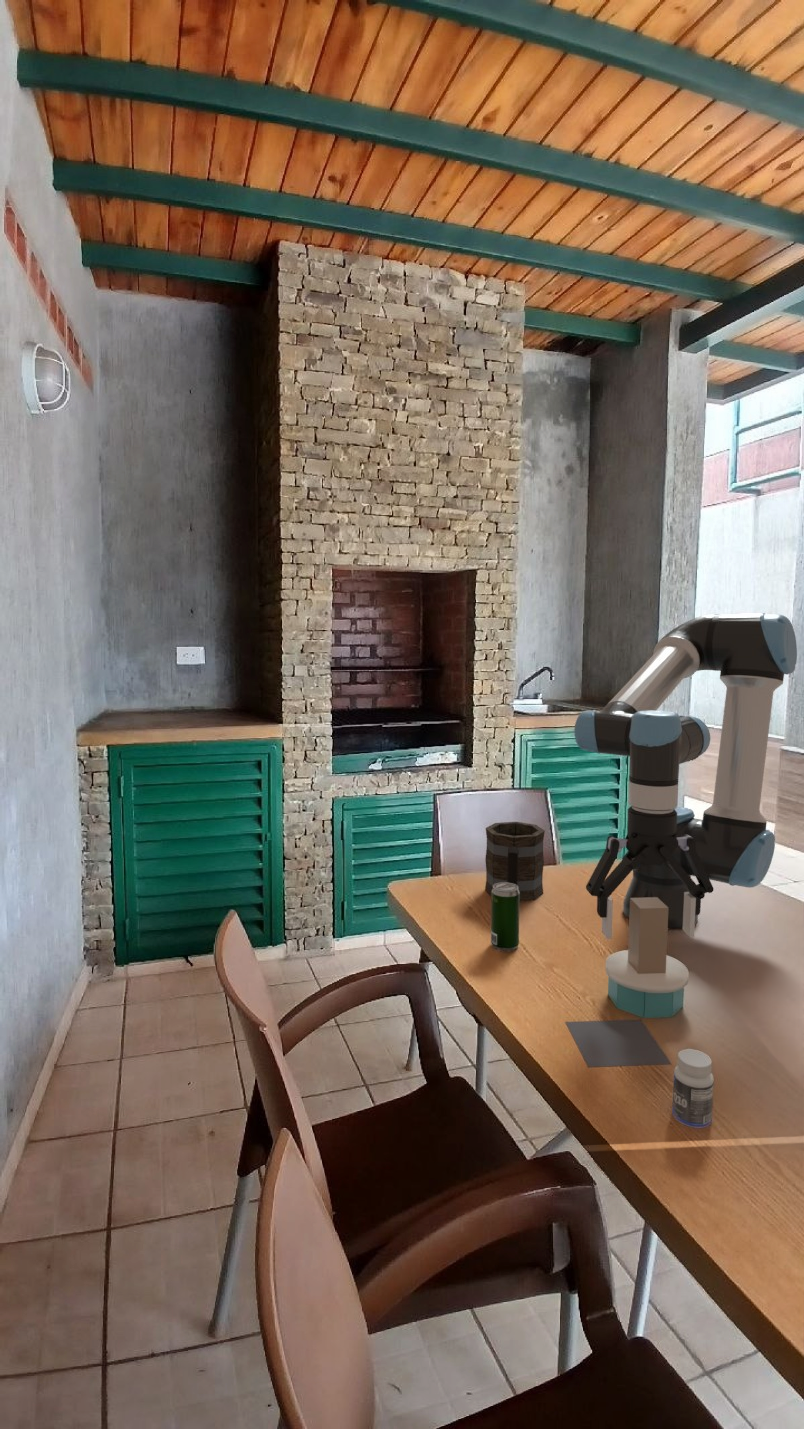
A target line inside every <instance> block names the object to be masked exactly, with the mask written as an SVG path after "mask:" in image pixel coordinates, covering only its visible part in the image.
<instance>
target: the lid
mask: <svg viewBox="0 0 804 1429" xmlns="http://www.w3.org/2000/svg"><path fill="white" fill-rule="evenodd" d="M628 920H629V921H628V943H627V944H628V947H627V949H626V950H620V951H616V952H614V953H611V954H610V955H609V956H608V957H607V958H606V959H605V974H606V975H607V976H608V979H609V978H611V979H612V980H613V981H614V982H616V983H618V984H620V985H622V986H624V987H627V988H629V989H633V990H637V991H641V992H648V993H670V992H675V991H678V990H681V989H683V988H684V989H685V987H686V986H687V985H688V984H689V976H690V975H689V974H690V973H689V969H688V967H686V965H685V964H684V963H682V962H681V961H680V960H678V959H676V958H674V957H672V956H670V955H668V954H667V951H668V933H669V932H668V931H669V930H668V907H667V906H666V905H665V904H664V903H663V902H662V901H661V900H660V899H659V898H657V897H647V898H630V912H629V918H628Z"/></svg>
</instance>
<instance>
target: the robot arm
mask: <svg viewBox="0 0 804 1429" xmlns="http://www.w3.org/2000/svg"><path fill="white" fill-rule="evenodd" d="M795 633H796V632H795V629H794V626H793V624H792V622H791V621H790V619H789V618H788V617H787V616H785V615H782V614H772V613H765V612H761V613H739V614H737V613H736V614H735V613H734V614H733V613H732V614H731V613H730V614H727V613H726V614H725V613H724V614H719V613H718V614H717V613H716V614H715V613H714V614H713V613H712V614H711V613H710V614H706V615H700V616H698V617H695V618H692V619H689V620H688V621H685V622H683V623H681V624H680V625H678V626H677V627H675V628H673V629H672V630H670V631H669V632H668V633H666V634H665V635H664V636H663V637H662V638H661V639H660V640H659V641H658V642H657V643H656V645H655V646H654V648H653V652H652V656H651V657H650V658H649V659H648V660H646V662H645V663H644V664H643V666H642V667H640V668H639V669H638V670H637V671H636V673H634V675H633V676H632V677H631V679H629V680H628V681H627V683H626V684H624V686H623V687H622V688H621V689H620V690H619V691H618V692H617V693H616V694H615V696H614V697H612V699H611V700H609V701H608V703H607V704H606V705H605V706H604V707H603V708H602V709H601V710H597V709H593V710H592V709H591V710H589V709H588V710H587V709H586V710H584V711H582V712H580V714H579V715H578V716H577V718H576V720H575V723H574V731H573V734H574V739H575V742H576V745H577V747H578V748H579V749H581V750H582V751H586V752H587V751H588V752H593V753H597V754H603V755H604V754H605V755H614V756H625V757H629V776H628V800H627V801H628V805H629V808H627V820H626V821H627V823H626V826H627V827H626V829H627V830H626V831H627V832H626V833H627V834H626V836H625V837H624V838H616V837H615V836H614V835H609V836H607V840H606V846H605V849H604V851H603V852H602V855H601V857H600V859H599V861H598V863H597V865H596V867H594V868H595V869H594V870H593V872H592V874H591V875H590V878H589V880H588V881H587V883H586V885H585V889H586V891H587V892H588V893H589V894H590V895H591V896H592V897H596V898H597V899H596V913H597V915H598V916H599V918H601V919H602V921H601V933H602V934H603V936H604V937H605V938H606V939H607V940H612V939H613V938H612V937H613V915H614V914H613V910H614V907H613V906H614V900H613V898H612V897H611V895H612V894H613V893H614V892H615V891H616V890H617V888H618V887H619V886H620V885H621V884H622V882H624V881H625V879H626V878H627V877H628V875H629V874H630V873H632V879H631V881H630V884H629V886H628V889H627V892H626V894H625V897H624V899H623V905H622V907H623V908H622V912H623V914H624V916H625V917H626V918H628V919H629V912H630V898H647V897H657V898H659V899H660V900H661V901H662V902H663V903H664V904H665V905H666V906H667V907H668V929H670V930H673V929H676V930H677V929H682V931H683V932H684V933H685V934H687V936H688V937H690V938H692V937H695V929H696V928H695V926H696V924H697V923H698V920H699V918H698V916H699V915H700V914H701V903H702V901H701V900H703V899H704V898H705V896H706V895H705V894H707V893H709V894H712V893H713V892H714V887H713V884H712V882H711V881H714V882H720V883H724V884H728V885H729V886H731V887H733V886H738V887H743V888H750V889H751V888H754V887H758V886H759V885H760V884H761V882H763V880H764V879H765V878H766V875H767V873H768V872H769V869H770V867H771V864H772V860H773V857H774V853H775V848H776V847H775V845H776V843H775V842H776V837H775V834H774V832H772V831H771V830H769V829H767V824H768V823H767V819H766V818H765V817H764V815H762V813H761V810H760V808H761V801H762V800H761V799H762V790H763V785H764V784H763V783H764V774H765V767H766V765H765V764H766V757H767V749H768V739H769V733H770V732H769V731H770V725H771V723H770V722H771V714H772V708H773V707H772V706H773V700H774V699H773V698H774V697H773V696H774V692H775V691H776V690H777V689H778V688H780V687H781V686H782V685H783V684H784V679H785V678H784V677H785V675H790V674H793V673H794V672H795V669H796V665H797V660H798V659H797V658H798V647H797V639H796V634H795ZM699 671H715V672H716V671H717V672H718V671H719V673H720V674H719V680H720V681H721V682H722V683H723V684H724V686H725V687H726V692H725V700H724V707H723V714H722V717H723V718H722V725H721V733H720V743H719V749H718V750H719V751H718V756H717V758H718V759H717V767H716V768H717V769H716V774H715V784H714V792H713V801H712V805H711V806H710V807H708V808H706V809H705V810H703V814H702V819H699V818H695V813H694V811H693V810H692V809H691V808H688V807H684V806H682V807H681V806H678V802H679V798H678V797H679V775H680V765H682V764H685V763H687V762H691V761H694V760H696V759H698V758H699V757H701V756H702V755H703V754H704V753H706V751H707V750H708V748H709V746H710V744H711V743H710V742H711V733H710V729H709V728H708V725H706V723H705V722H704V721H703V720H701V719H700V718H699V717H696V716H692V715H679V714H678V713H677V712H674V711H668V710H658V709H659V708H660V707H661V706H662V705H663V703H664V702H665V701H666V700H667V698H668V697H669V696H670V695H671V694H672V693H673V691H675V689H676V688H677V686H679V685H680V684H681V682H682V680H684V679H687V678H690V677H691V676H694V674H695V673H696V672H699ZM624 848H626V850H627V852H625V854H624V855H623V856H622V859H621V861H619V863H618V865H616V867H615V868H614V869H613V870H612V871H611V869H612V867H613V865H614V864H615V862H616V860H617V858H618V856H619V855H618V854H619V853H621V852H622V851H623V849H624ZM610 871H611V872H610ZM609 872H610V874H609ZM692 877H695V878H696V880H697V882H698V883H697V884H696V882H695V881H694V880H693V879H692Z"/></svg>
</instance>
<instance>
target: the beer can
mask: <svg viewBox="0 0 804 1429" xmlns="http://www.w3.org/2000/svg"><path fill="white" fill-rule="evenodd" d="M490 898H491V900H490V901H491V903H490V906H491V908H490V909H491V910H490V912H491V913H490V919H491V920H490V944H491V946H492V948H493V949H495V950H497V951H499V952H513V951H515V950H517V948H518V946H519V945H520V944H519V943H520V902H519V898H520V892H519V890H518V886H517V885H516V884H513V883H507V882H501V883H496V884H494V885H493V889H492V893H491V896H490Z"/></svg>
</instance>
